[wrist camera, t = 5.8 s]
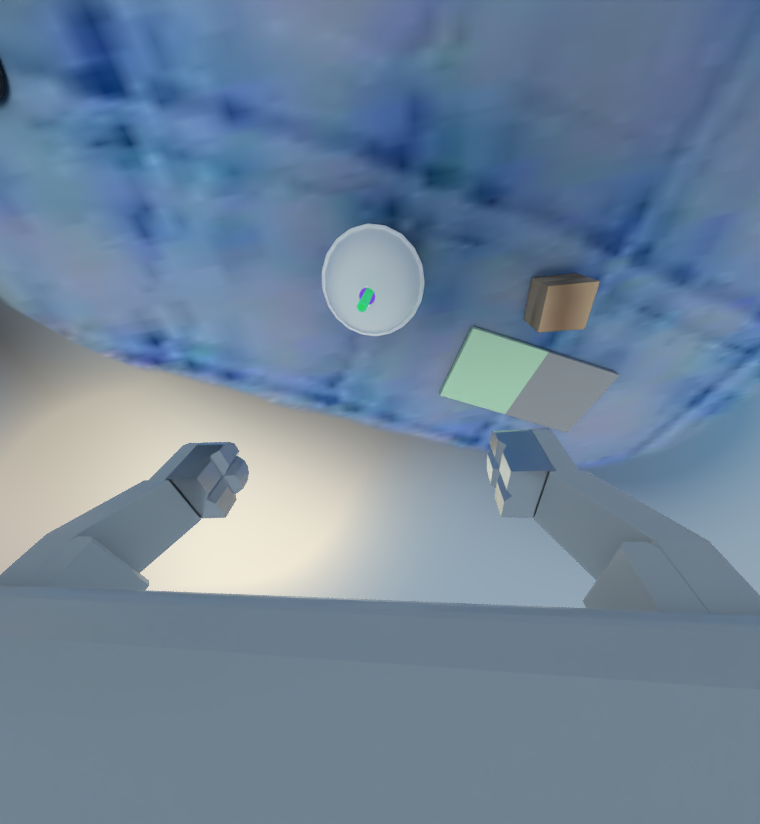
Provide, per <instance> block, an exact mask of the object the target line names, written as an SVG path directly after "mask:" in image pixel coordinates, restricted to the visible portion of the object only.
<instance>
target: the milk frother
mask: <svg viewBox="0 0 760 824" xmlns="http://www.w3.org/2000/svg"><path fill="white" fill-rule="evenodd" d="M3 91H4V81H3V76H2V72H1V69H0V99H1V98H2V95H3Z"/></svg>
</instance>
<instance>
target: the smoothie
mask: <svg viewBox="0 0 760 824" xmlns="http://www.w3.org/2000/svg"><path fill="white" fill-rule="evenodd" d="M424 285H425V281H424V273H423V265H422V263H421V260H420V258H419V256H418V254H417V252H416V249H415V248H414V246H413V245H412V244H411V243H410V242H409V241H408V240H407V239H406V238H405V237H404V235H403V234H401V233H399V232H397V231H395V230H394V229H392V228H390V227H388V226H386V225H378V224H369V223H367V224H363V225H360V226H356V227H353V228H350V229H349V230H347V231H346V232H345V233H343V234H342V235H341V236H339V237H338V238H337V239H336V240H335V241H334V243H333V244H332V246H331V247H330V249H329V251H328V252H327V254H326V257H325V261H324V264H323V268H322V290H323V293H324V296H325V299H326V302H327V305H328V307H329V308H330V310H331V311H332V313H333V314H334V316H335V317H336V319H338V320H339V321H340V322H341V323H342V324H343V325H345V326H346V327H347V328H348V329H350V330H352V331H355V332H357V333H359V334H362V335H369V336H381V335H386V334H391V333H393V332H394V331H396V330H398V329H400V328H402V327H404V326H405V325H406V323H407V322H408V321H409V320H410V319H411V318H412V317H413V316H414V315H415V313H416V311H417V309H418V307H419V305H420V303H421V301H422V297H423V291H424Z"/></svg>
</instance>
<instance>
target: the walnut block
mask: <svg viewBox="0 0 760 824" xmlns="http://www.w3.org/2000/svg"><path fill="white" fill-rule="evenodd" d="M599 283H600V281H598V280H595V279H592V278H589V277H586V276H583V275H580V274H577V273H573V274H563V275H554V276H544V277H534V278H531V283H530V288H529V294H528V299H527V304H526V310H525V315H524V320H525V321H526V322H527V323H528V324H529V325H530V326H532V327H533V328H534V329H535V330H536V331H537V332H550V331H563V330H576V329H585V327H586V324H587V320H588V317H589V314H590V311H591V308H592V305H593V302H594V298H595V295H596V292H597V289H598V286H599Z"/></svg>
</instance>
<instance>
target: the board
mask: <svg viewBox="0 0 760 824" xmlns="http://www.w3.org/2000/svg"><path fill="white" fill-rule="evenodd" d="M618 377H619V374H618V373H616V372H615V371H611V370H608V369H605V368H602V367H599V366H596V365H593V364H590V363H587V362H583V361H580V360H577V359H574V358H571V357H568V356H565V355H562V354H559V353H555V352H552V351H549V350H546V349H543V348H540V347H537V346H534V345H531V344H527V343H524V342H521V341H518V340H515V339H512V338H509V337H506V336H503V335H499V334H496V333H493V332H490V331H487V330H484V329H481V328H478V327H475V326H471V328H470V331H469V333H468V335H467V337H466V339H465V341H464V343H463V345H462V347H461V349H460V351H459V353H458V355H457V357H456V359H455V361H454V363H453V365H452V367H451V369H450V371H449V373H448V375H447V377H446V379H445V382H444V384H443V386H442V388H441V390H440V395H441V396H444V397H448V398H451V399H454V400H458V401H461V402H465V403H468V404H472V405H475V406H478V407H482V408H485V409H489V410H492V411H496V412H499V413H502V414H506V415H509V416H513V417H516V418H519V419H523V420H526V421H530V422H533V423H537V424H540V425H543V426H547V427H550V428H554V429H557V430H561V431H564V432H568V431H569V430H570V429H571V428H572V427H573V425H574V424H575V423H576V422H577V421H578V420H579V419H580V418H581V417H582V416H583V415H584V414H585V412H586V411H587V410H588V409H589V408H590V407H591V406H592V405H593V404H594V403H595V402H596V400H597V399H598V398H599V397H600V396H601V395H602V394H603V393H604V392H605V391H606V390H607V389H608V387H609V386H610V385H611V384H612V383H613V382H614V381H615V380H616V379H617V378H618Z"/></svg>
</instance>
